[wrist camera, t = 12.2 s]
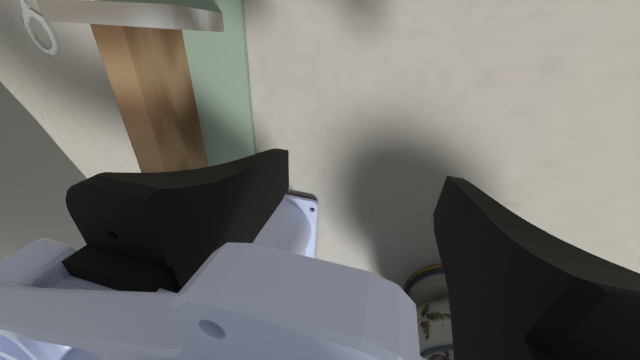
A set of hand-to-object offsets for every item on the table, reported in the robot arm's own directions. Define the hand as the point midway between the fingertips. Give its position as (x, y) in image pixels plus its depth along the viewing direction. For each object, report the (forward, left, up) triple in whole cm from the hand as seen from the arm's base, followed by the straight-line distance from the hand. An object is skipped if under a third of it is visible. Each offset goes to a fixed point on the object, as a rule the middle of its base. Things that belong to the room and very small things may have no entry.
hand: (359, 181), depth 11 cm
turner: (0, +17, -9) cm, 19 cm away
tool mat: (+1, +17, -9) cm, 19 cm away
